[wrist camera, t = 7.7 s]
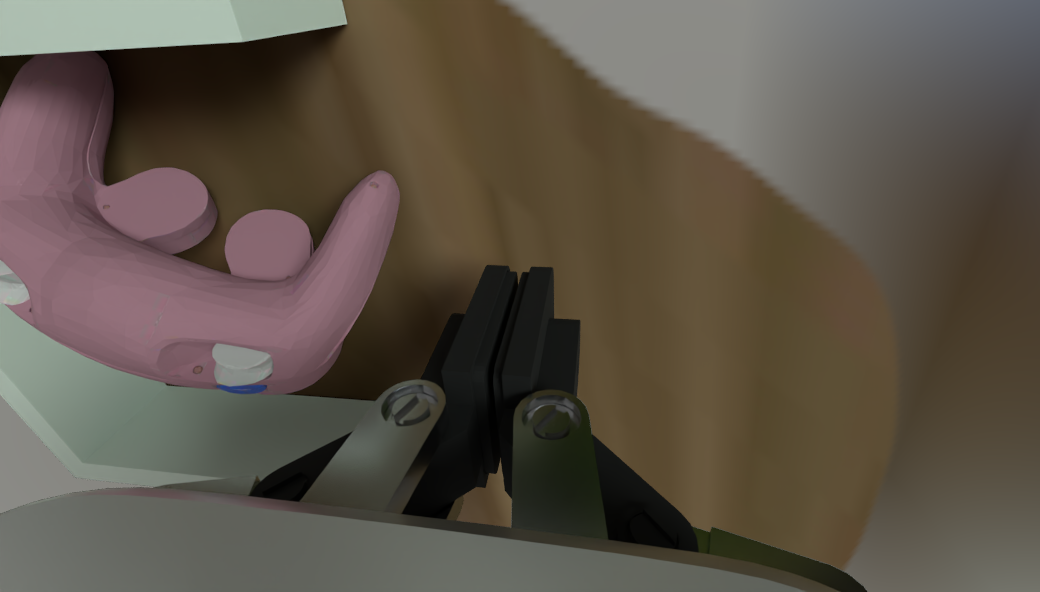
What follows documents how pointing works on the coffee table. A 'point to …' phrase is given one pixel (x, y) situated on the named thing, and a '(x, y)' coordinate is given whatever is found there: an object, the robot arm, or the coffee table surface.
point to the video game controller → (167, 252)
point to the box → (126, 397)
